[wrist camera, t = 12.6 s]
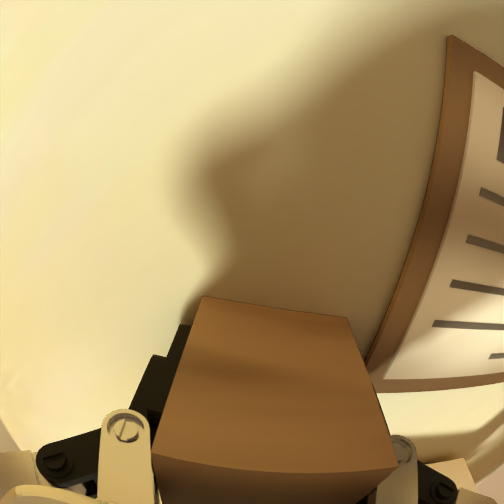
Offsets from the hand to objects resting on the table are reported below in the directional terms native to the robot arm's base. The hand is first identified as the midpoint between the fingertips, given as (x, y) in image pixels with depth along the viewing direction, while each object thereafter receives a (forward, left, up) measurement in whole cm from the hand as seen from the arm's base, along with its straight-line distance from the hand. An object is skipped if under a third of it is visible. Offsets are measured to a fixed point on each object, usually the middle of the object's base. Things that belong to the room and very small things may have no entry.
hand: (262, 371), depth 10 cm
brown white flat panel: (+6, -12, 0) cm, 13 cm away
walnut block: (0, 0, 0) cm, 0 cm away
